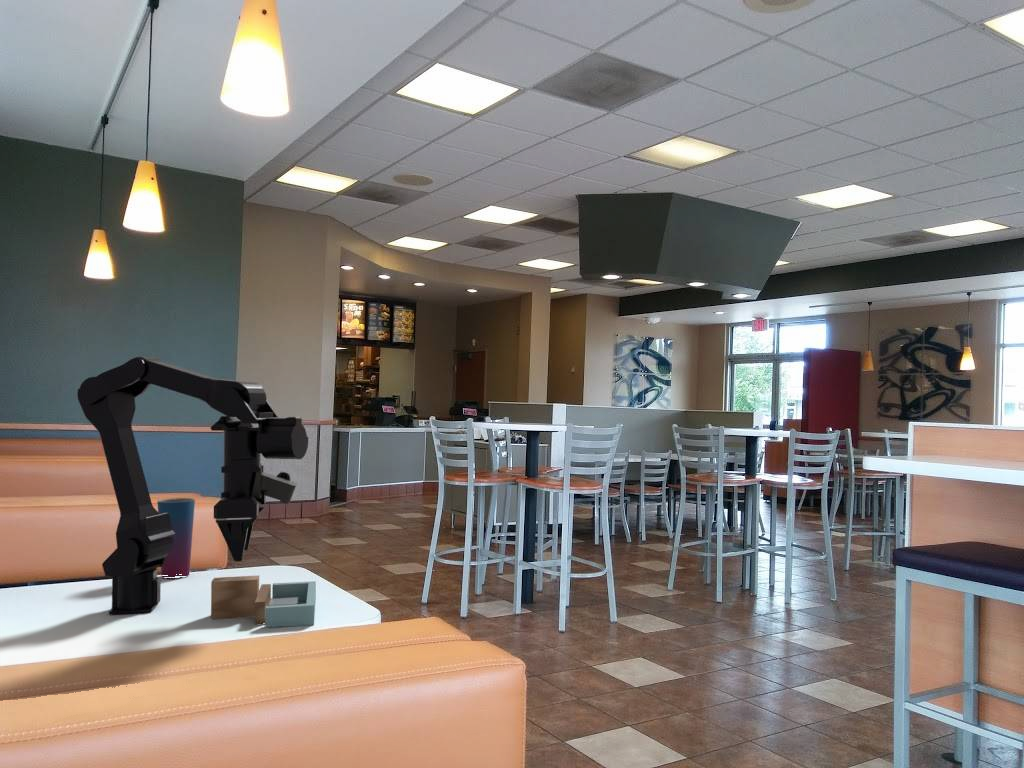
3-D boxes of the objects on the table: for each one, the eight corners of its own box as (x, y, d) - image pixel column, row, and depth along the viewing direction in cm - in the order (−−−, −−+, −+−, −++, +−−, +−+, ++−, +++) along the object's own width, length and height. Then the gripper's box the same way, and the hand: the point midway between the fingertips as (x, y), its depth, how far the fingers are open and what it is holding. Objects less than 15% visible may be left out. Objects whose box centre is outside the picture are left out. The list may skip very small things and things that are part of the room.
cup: (168, 582, 147) (168, 503, 147) (149, 577, 151) (150, 500, 151) (201, 575, 152) (201, 499, 153) (182, 570, 156) (183, 497, 157)
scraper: (206, 628, 117) (206, 588, 118) (217, 607, 129) (218, 571, 129) (264, 624, 119) (265, 585, 119) (270, 604, 131) (270, 569, 131)
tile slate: (268, 614, 126) (268, 605, 126) (270, 607, 131) (270, 598, 131) (296, 612, 127) (296, 603, 127) (298, 605, 132) (298, 596, 132)
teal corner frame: (265, 627, 117) (265, 608, 117) (272, 600, 133) (273, 583, 133) (313, 624, 119) (314, 605, 119) (315, 598, 135) (315, 581, 135)
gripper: (290, 462, 117) (290, 564, 117) (296, 454, 136) (295, 543, 135) (213, 463, 115) (212, 568, 115) (229, 455, 133) (228, 545, 133)
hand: (241, 555), depth 124 cm, fingers open, 9 cm apart
